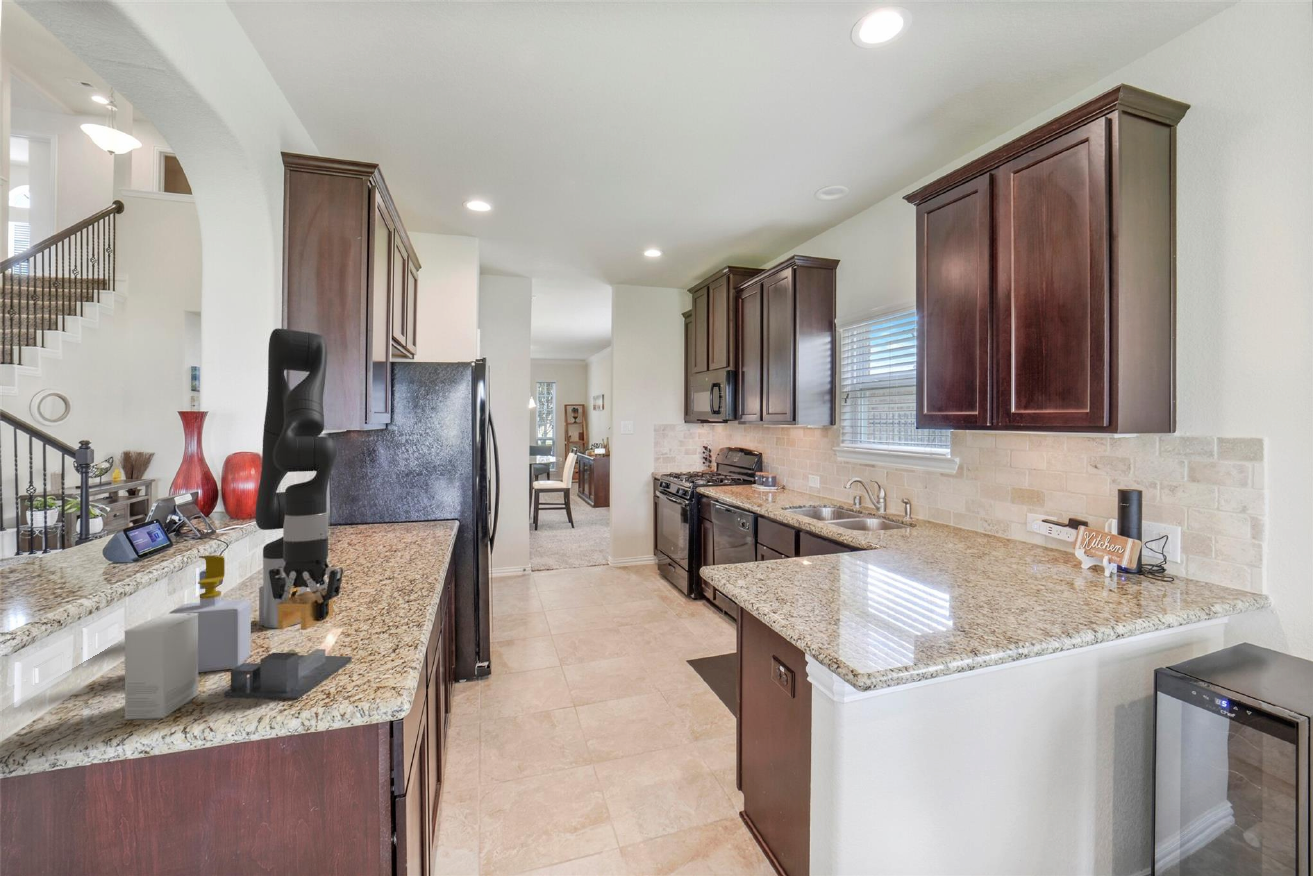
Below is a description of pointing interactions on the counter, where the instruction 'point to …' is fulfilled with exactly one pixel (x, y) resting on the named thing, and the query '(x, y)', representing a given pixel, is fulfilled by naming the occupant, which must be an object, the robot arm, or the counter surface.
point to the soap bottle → (220, 622)
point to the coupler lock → (300, 611)
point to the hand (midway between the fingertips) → (306, 619)
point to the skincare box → (161, 665)
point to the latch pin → (291, 651)
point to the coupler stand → (284, 675)
